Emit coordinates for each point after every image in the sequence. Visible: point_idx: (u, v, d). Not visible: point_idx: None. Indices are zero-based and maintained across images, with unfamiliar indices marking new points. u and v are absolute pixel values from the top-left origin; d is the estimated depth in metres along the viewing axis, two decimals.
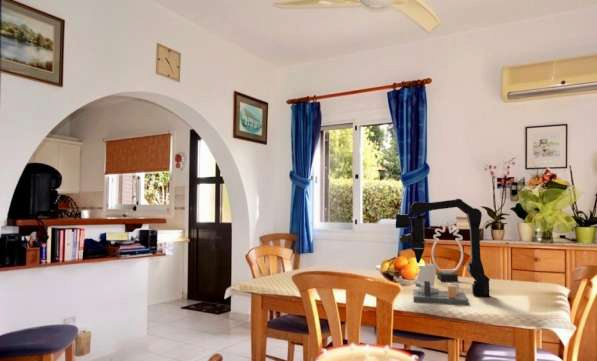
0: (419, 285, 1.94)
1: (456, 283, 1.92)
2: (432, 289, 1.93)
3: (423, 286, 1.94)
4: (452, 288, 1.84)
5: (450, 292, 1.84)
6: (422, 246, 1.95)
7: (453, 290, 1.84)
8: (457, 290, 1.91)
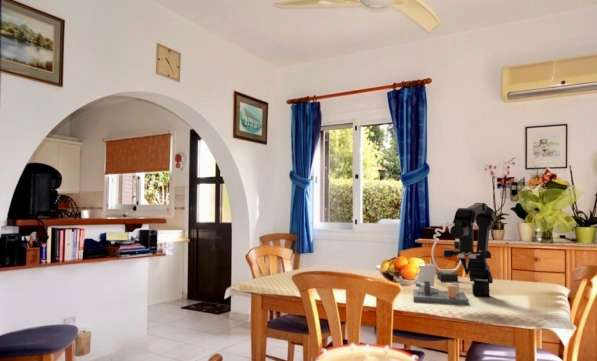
0: (419, 285, 1.94)
1: (456, 283, 1.92)
2: (432, 289, 1.93)
3: (423, 286, 1.94)
4: (452, 288, 1.84)
5: (450, 292, 1.84)
6: (443, 254, 1.85)
7: (453, 290, 1.84)
8: (457, 290, 1.91)
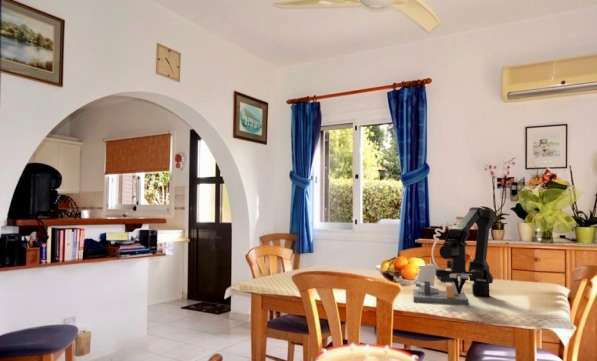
0: (419, 285, 1.94)
1: None
2: (432, 289, 1.93)
3: (423, 286, 1.94)
4: (450, 288, 1.84)
5: (448, 292, 1.84)
6: (436, 274, 1.85)
7: (451, 290, 1.84)
8: None
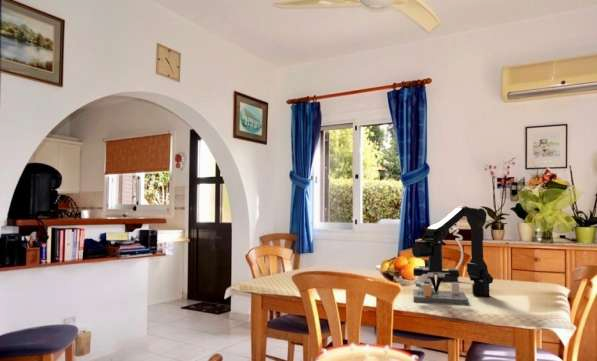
0: (419, 285, 1.94)
1: (456, 283, 1.92)
2: (432, 289, 1.93)
3: (423, 286, 1.94)
4: (427, 287, 1.86)
5: (425, 291, 1.87)
6: (413, 273, 1.87)
7: (428, 289, 1.86)
8: (457, 290, 1.91)
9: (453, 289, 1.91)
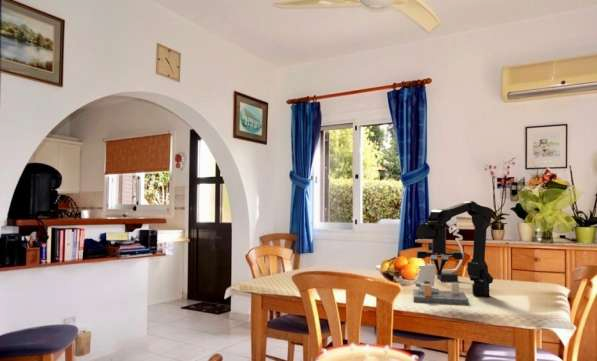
0: (419, 285, 1.94)
1: (456, 283, 1.92)
2: (432, 289, 1.93)
3: (423, 286, 1.94)
4: (427, 287, 1.86)
5: (425, 291, 1.87)
6: (417, 255, 1.88)
7: (428, 289, 1.86)
8: (457, 290, 1.91)
9: (453, 289, 1.91)
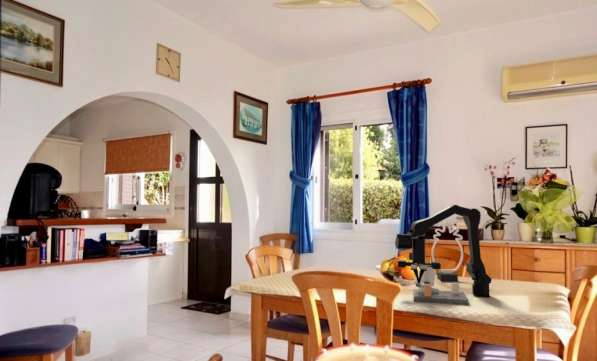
0: (419, 285, 1.94)
1: (456, 283, 1.92)
2: (432, 289, 1.93)
3: (423, 286, 1.94)
4: (427, 287, 1.86)
5: (425, 291, 1.87)
6: None
7: (428, 289, 1.86)
8: (457, 290, 1.91)
9: (453, 289, 1.91)
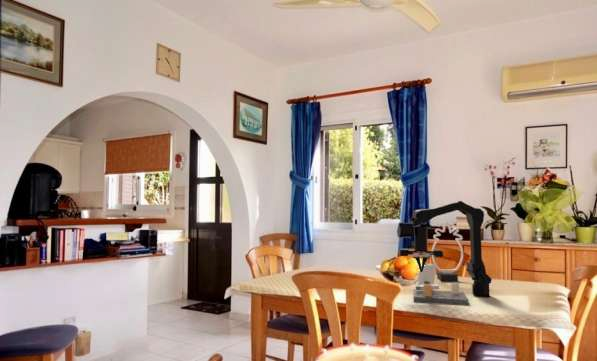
0: (419, 287, 1.94)
1: (456, 283, 1.92)
2: (432, 287, 1.93)
3: (423, 287, 1.94)
4: (427, 287, 1.86)
5: (425, 291, 1.87)
6: (400, 253, 1.97)
7: (428, 289, 1.86)
8: (457, 290, 1.91)
9: (453, 289, 1.91)
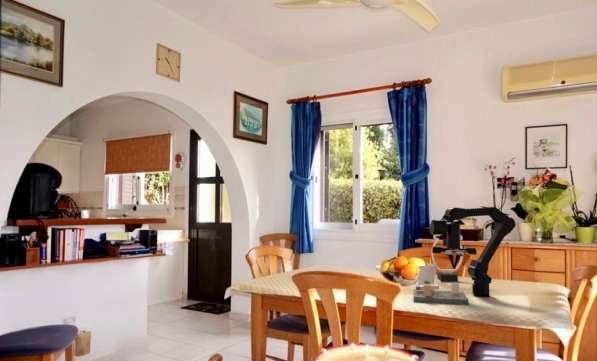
0: (419, 287, 1.94)
1: (456, 283, 1.92)
2: (432, 287, 1.93)
3: (423, 287, 1.94)
4: (427, 287, 1.86)
5: (425, 291, 1.87)
6: (432, 251, 1.97)
7: (428, 289, 1.86)
8: (457, 290, 1.91)
9: (453, 289, 1.91)
